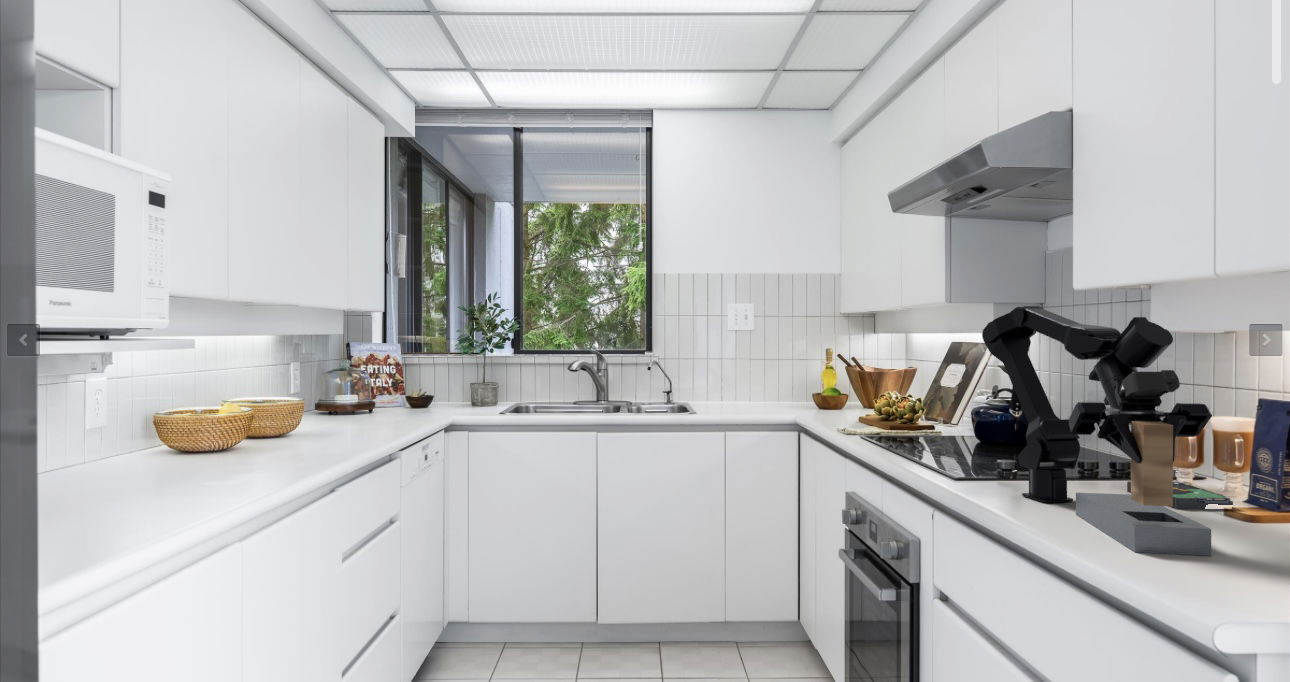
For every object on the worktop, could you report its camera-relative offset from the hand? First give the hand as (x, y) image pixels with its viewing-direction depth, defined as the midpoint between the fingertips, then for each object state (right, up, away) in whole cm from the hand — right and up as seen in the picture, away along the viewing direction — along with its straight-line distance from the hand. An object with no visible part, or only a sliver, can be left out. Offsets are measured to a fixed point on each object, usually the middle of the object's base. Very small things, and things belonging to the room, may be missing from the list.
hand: (1155, 462), depth 107 cm
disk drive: (+25, -13, +28) cm, 40 cm away
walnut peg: (0, -7, +1) cm, 7 cm away
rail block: (+2, -13, +6) cm, 14 cm away
